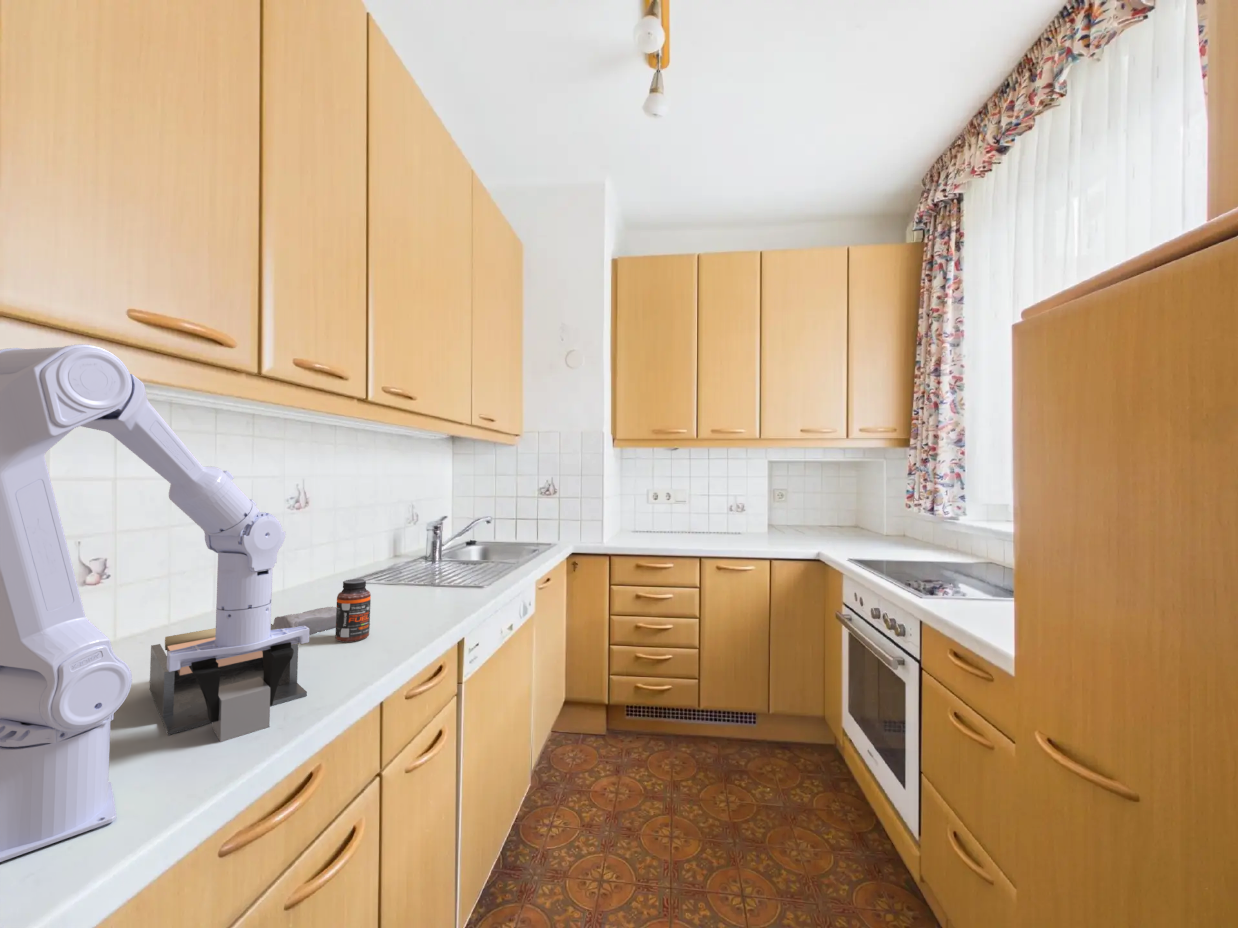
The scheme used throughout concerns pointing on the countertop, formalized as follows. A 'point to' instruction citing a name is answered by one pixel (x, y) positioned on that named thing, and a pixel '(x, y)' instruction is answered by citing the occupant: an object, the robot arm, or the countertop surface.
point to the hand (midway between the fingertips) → (241, 711)
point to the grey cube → (242, 708)
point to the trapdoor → (198, 638)
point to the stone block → (309, 620)
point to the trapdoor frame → (184, 696)
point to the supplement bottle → (353, 611)
